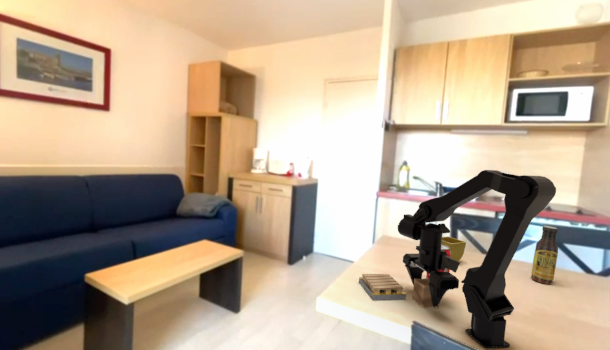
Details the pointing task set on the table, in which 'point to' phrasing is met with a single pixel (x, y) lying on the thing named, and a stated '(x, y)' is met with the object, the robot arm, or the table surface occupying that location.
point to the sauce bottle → (545, 256)
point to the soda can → (446, 249)
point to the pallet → (382, 283)
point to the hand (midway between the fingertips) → (425, 298)
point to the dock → (382, 293)
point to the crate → (422, 292)
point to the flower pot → (454, 247)
